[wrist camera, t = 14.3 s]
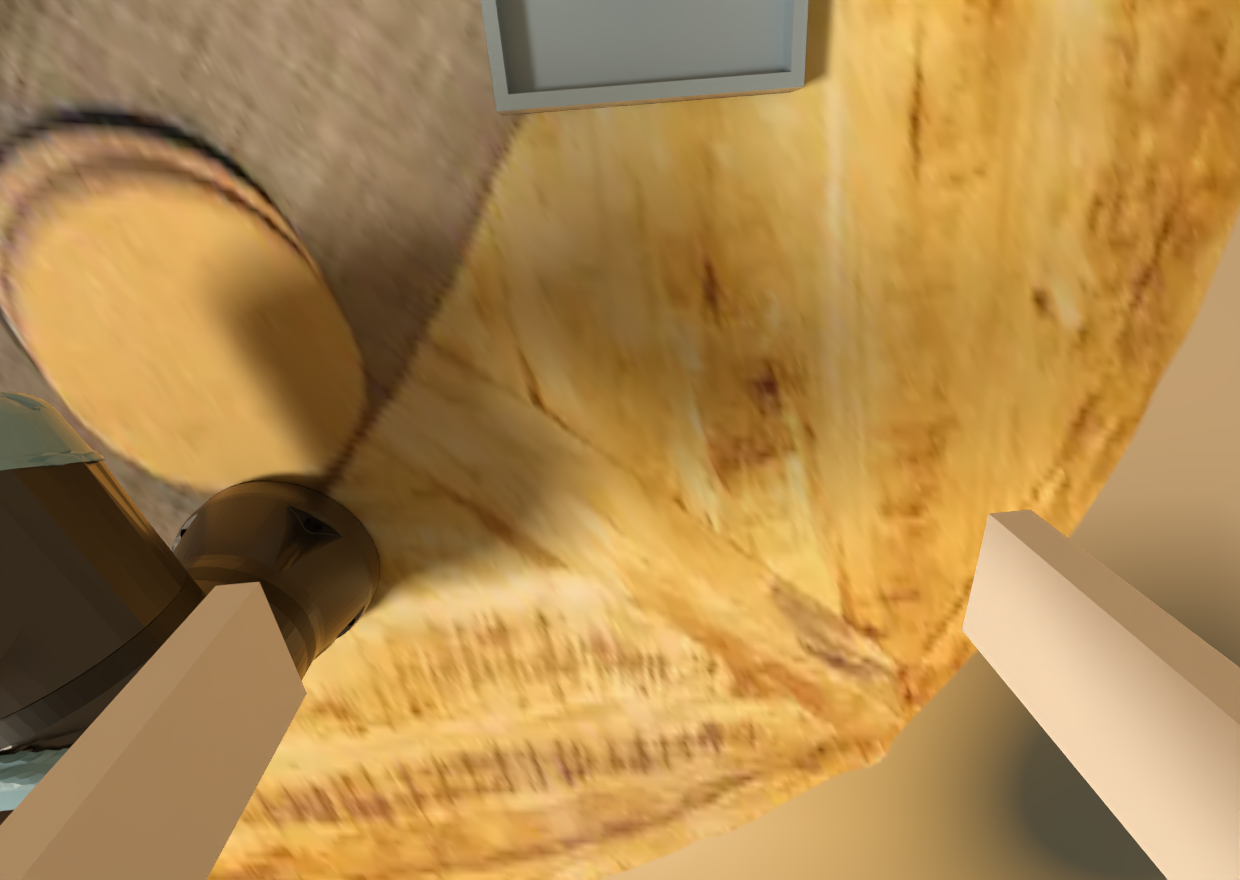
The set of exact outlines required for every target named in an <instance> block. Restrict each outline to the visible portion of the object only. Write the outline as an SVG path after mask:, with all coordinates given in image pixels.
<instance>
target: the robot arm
mask: <svg viewBox="0 0 1240 880" xmlns="http://www.w3.org/2000/svg"><path fill="white" fill-rule="evenodd" d="M103 460H105V458H104V457H103V455H102V454H101V453H99V452H97V451H93V450H92V449H91V448H90V447H89V446H88V445H87V443H86V442H85V441H84V440H83V439H82V438H81V437H80V436H79V435H78V434H77V433H76V431H75V430H74V429H73V428H72V427H71V426H70V425H69V423H68V422H67V421H66V420H65V419H64V418H63V416H62V415H61V414H60V413H59V412H58V411H57V410H56V409H55V408H54V407H53V406H52V405H50V404H49V403H48V402H46V401H44V400H42V399H40V398H38V397H35V396H32V395H29V394H24V393H19V392H0V880H206V879H207V878H208V876H209V874H210V872H211V870H212V868H213V866H214V865H215V863H216V861H217V859H218V857H219V855H220V853H221V852H222V850H223V848H224V846H225V844H226V842H227V840H228V839H229V837H230V835H231V833H232V831H233V829H234V827H235V826H236V824H237V822H238V820H239V818H240V816H241V814H242V813H243V811H244V809H245V807H246V805H247V803H248V801H249V800H250V798H251V796H252V794H253V792H254V790H255V788H256V787H257V785H258V783H259V781H260V779H261V777H262V775H263V774H264V772H265V770H266V768H267V766H268V764H269V762H270V761H271V759H272V757H273V755H274V753H275V751H276V749H277V748H278V746H279V744H280V742H281V740H282V738H283V736H284V735H285V733H286V731H287V729H288V727H289V725H290V723H291V722H292V720H293V718H294V716H295V714H296V712H297V710H298V709H299V707H300V705H301V703H302V701H303V699H304V697H305V696H306V694H307V693H306V691H305V688H304V686H303V684H302V679H303V677H304V675H305V673H306V672H307V670H308V668H309V666H310V665H311V663H312V661H313V660H314V659H316V658H317V657H318V656H319V655H320V654H322V653H323V652H324V651H325V650H326V649H327V648H328V647H329V646H330V645H331V644H332V643H333V642H334V641H335V640H336V639H337V638H339V637H340V636H342V635H343V634H345V633H346V632H347V631H348V630H350V629H351V628H352V627H353V626H354V625H355V624H356V623H357V622H358V621H359V619H360V618H361V617H362V615H363V614H364V612H365V611H366V609H367V607H368V605H369V603H370V601H371V599H372V597H373V595H374V593H375V591H376V589H377V586H378V582H379V576H380V563H379V557H378V553H377V550H376V547H375V545H374V543H373V541H372V539H371V537H370V535H369V534H368V532H367V531H366V529H365V528H364V527H363V525H362V524H361V523H360V522H359V521H358V520H357V519H356V518H355V517H354V516H353V515H352V514H351V513H350V512H349V511H348V510H347V509H345V508H344V507H343V506H341V505H340V504H338V503H337V502H335V501H334V500H332V499H330V498H329V497H327V496H325V495H323V494H321V493H318V492H316V491H314V490H311V489H308V488H305V487H302V486H298V485H294V484H290V483H284V482H274V481H258V482H249V483H244V484H239V485H236V486H233V487H230V488H227V489H225V490H223V491H221V492H219V493H218V494H216V495H214V496H213V497H212V498H210V499H209V500H208V501H207V502H206V503H204V504H203V505H202V506H201V507H200V508H199V509H198V510H196V511H195V512H194V513H193V514H192V515H191V516H190V517H189V518H188V519H187V520H186V522H185V523H184V524H183V526H182V527H181V529H180V530H179V532H178V534H177V536H176V539H175V541H174V544H173V547H172V551H171V550H170V548H169V547H168V546H167V545H166V543H165V542H164V541H163V540H162V538H161V537H160V536H159V535H158V533H157V532H156V531H155V529H154V528H153V527H152V526H151V524H150V523H149V522H148V521H147V519H146V518H145V517H144V515H143V514H142V513H141V511H140V510H139V509H138V507H137V506H136V505H135V503H134V502H133V501H132V499H131V498H130V497H129V496H128V494H127V493H126V492H125V490H124V489H123V488H122V486H121V485H120V484H119V482H118V481H117V480H116V478H115V477H114V476H113V474H112V473H111V472H110V471H109V469H108V468H107V467H106V465H105V464H104V463H103ZM962 631H963V632H964V633H965V634H966V635H967V637H968V638H969V639H970V640H971V641H972V643H973V644H974V645H975V646H976V648H977V649H978V650H979V651H980V652H981V654H982V655H983V656H984V657H985V658H986V660H987V661H988V662H989V663H990V664H991V666H992V667H993V668H994V669H995V671H996V672H997V673H998V674H999V675H1000V677H1001V678H1002V679H1003V680H1004V681H1005V683H1006V684H1007V685H1008V686H1009V687H1010V689H1011V690H1012V691H1013V692H1014V694H1015V695H1016V696H1017V697H1018V698H1019V700H1020V701H1021V702H1022V703H1023V704H1024V706H1025V707H1026V708H1027V709H1028V710H1029V712H1030V713H1031V714H1032V715H1033V717H1034V718H1035V719H1036V720H1037V721H1038V723H1039V724H1040V725H1041V726H1042V728H1043V729H1044V730H1045V731H1046V732H1047V734H1048V735H1049V736H1050V737H1051V738H1052V740H1053V741H1054V742H1055V743H1056V745H1057V746H1058V747H1059V748H1060V749H1061V751H1062V752H1063V753H1064V754H1065V755H1066V756H1067V758H1068V759H1069V760H1070V762H1071V763H1072V764H1073V765H1074V766H1075V768H1076V769H1077V770H1078V771H1079V772H1080V774H1081V775H1082V776H1083V777H1084V778H1085V780H1086V781H1087V782H1088V783H1089V784H1090V786H1091V787H1092V788H1093V789H1094V790H1095V792H1096V793H1097V794H1098V796H1099V797H1100V798H1101V799H1102V800H1103V802H1104V803H1105V804H1106V805H1107V806H1108V808H1109V809H1110V810H1111V811H1112V812H1113V813H1114V815H1115V816H1116V817H1117V819H1118V820H1119V821H1120V822H1121V823H1122V824H1123V826H1124V827H1125V828H1126V829H1127V830H1128V832H1129V833H1130V834H1131V836H1132V837H1133V838H1134V839H1135V840H1136V841H1137V843H1138V844H1139V845H1140V846H1141V848H1142V849H1143V850H1144V851H1145V853H1146V854H1147V855H1148V856H1149V857H1150V858H1151V860H1152V861H1153V862H1154V863H1155V865H1156V866H1157V867H1158V868H1159V870H1160V871H1161V872H1162V873H1163V874H1164V875H1165V877H1166V878H1167V879H1168V880H1240V668H1239V667H1238V666H1237V665H1235V664H1234V663H1233V662H1231V661H1230V660H1229V659H1227V658H1226V657H1225V656H1224V655H1222V654H1221V653H1220V652H1218V651H1217V650H1216V649H1214V648H1213V647H1212V646H1210V645H1209V644H1207V643H1206V642H1204V640H1202V639H1201V638H1200V637H1198V636H1197V635H1195V634H1194V633H1193V632H1192V631H1190V630H1189V629H1187V628H1186V627H1185V626H1184V625H1182V624H1181V623H1180V622H1178V621H1177V620H1176V619H1175V618H1173V617H1172V616H1171V615H1169V614H1168V613H1167V612H1165V611H1164V610H1162V609H1161V608H1160V607H1159V606H1157V605H1156V604H1154V603H1153V602H1152V601H1150V600H1149V599H1148V598H1147V597H1145V596H1144V595H1143V594H1141V593H1140V592H1139V591H1137V590H1136V589H1135V588H1133V587H1132V586H1131V585H1129V584H1128V583H1127V582H1126V581H1124V580H1123V579H1122V578H1120V577H1119V576H1118V575H1116V574H1115V573H1114V572H1112V571H1111V570H1110V569H1108V568H1107V567H1106V566H1104V565H1103V564H1102V563H1100V562H1099V561H1098V560H1096V559H1095V558H1094V557H1092V556H1091V555H1090V554H1088V553H1087V552H1086V551H1084V550H1083V549H1082V548H1081V547H1079V546H1078V545H1077V544H1075V543H1074V542H1073V541H1071V540H1070V539H1069V538H1067V537H1066V536H1065V535H1063V534H1062V533H1061V532H1059V531H1058V530H1057V529H1055V528H1054V527H1053V526H1051V525H1050V524H1049V523H1047V522H1046V521H1045V520H1043V519H1042V518H1041V517H1039V516H1038V515H1037V514H1036V513H1034V512H1033V511H1032V510H1022V511H1012V512H1001V513H990V514H989V515H988V520H987V524H986V528H985V533H984V537H983V542H982V546H981V550H980V555H979V559H978V563H977V568H976V572H975V576H974V581H973V585H972V589H971V594H970V598H969V602H968V607H967V611H966V615H965V620H964V624H963V628H962Z"/></svg>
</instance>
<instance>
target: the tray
mask: <svg viewBox="0 0 1240 880" xmlns="http://www.w3.org/2000/svg"><path fill="white" fill-rule="evenodd" d="M808 1H809V0H481V7H482V14H483V21H484V28H485V35H486V42H487V49H488V56H489V63H490V70H491V77H492V84H493V91H494V97H495V104H496V111H497V112H498V113H499V114H501V115H514V114H526V113H538V112H551V111H563V110H576V109H588V108H601V107H613V106H625V105H638V104H650V103H663V102H675V101H688V100H700V99H712V98H725V97H737V96H750V95H762V94H775V93H787V92H792V91H795V90H797V89H800V88H802V87H804V78H805V59H806V40H807V21H808Z"/></svg>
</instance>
